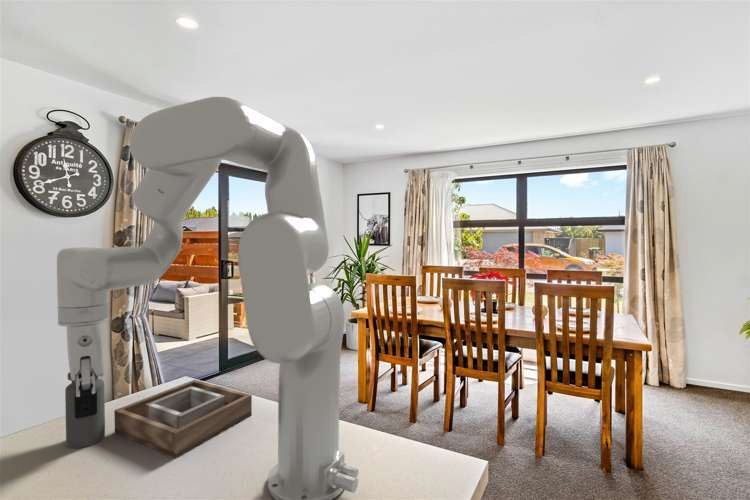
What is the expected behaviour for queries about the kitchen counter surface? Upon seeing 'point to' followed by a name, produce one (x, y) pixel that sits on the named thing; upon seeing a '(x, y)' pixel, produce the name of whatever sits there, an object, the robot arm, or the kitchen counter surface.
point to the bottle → (87, 427)
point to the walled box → (182, 416)
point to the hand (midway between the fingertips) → (85, 408)
